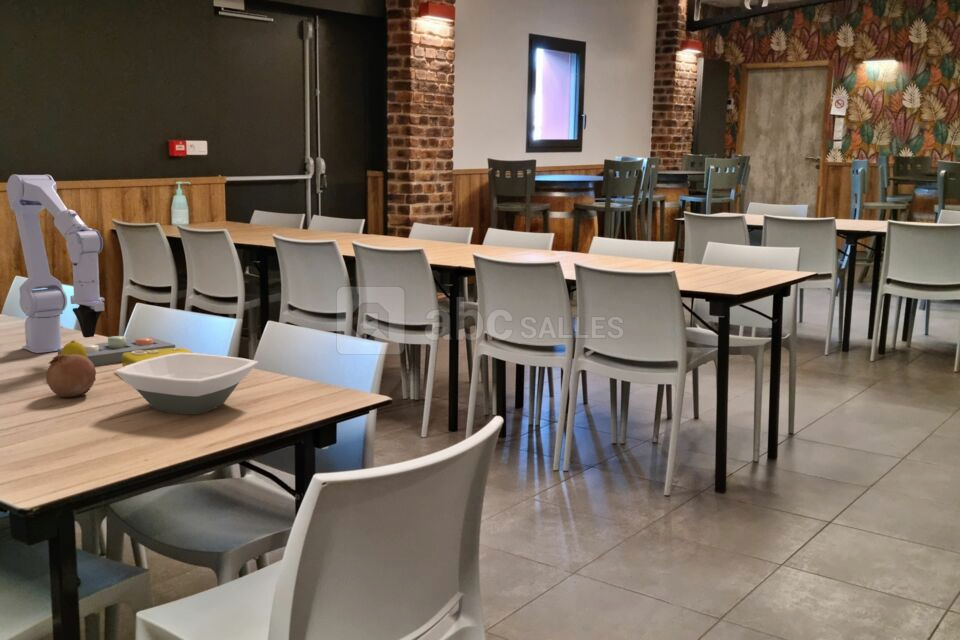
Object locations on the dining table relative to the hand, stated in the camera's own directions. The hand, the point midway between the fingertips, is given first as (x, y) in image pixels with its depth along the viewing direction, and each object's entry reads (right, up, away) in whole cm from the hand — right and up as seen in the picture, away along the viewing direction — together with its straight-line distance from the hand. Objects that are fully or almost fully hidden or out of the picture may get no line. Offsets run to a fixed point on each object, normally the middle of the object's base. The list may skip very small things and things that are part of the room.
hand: (88, 336), depth 231 cm
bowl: (+36, -14, -38) cm, 54 cm away
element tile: (+21, -9, -9) cm, 24 cm away
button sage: (+5, -3, +5) cm, 8 cm away
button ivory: (0, -5, +1) cm, 5 cm away
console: (+5, -5, +6) cm, 9 cm away
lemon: (+3, -9, -14) cm, 17 cm away
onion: (+10, -12, -32) cm, 36 cm away
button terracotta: (+10, -3, +11) cm, 15 cm away
